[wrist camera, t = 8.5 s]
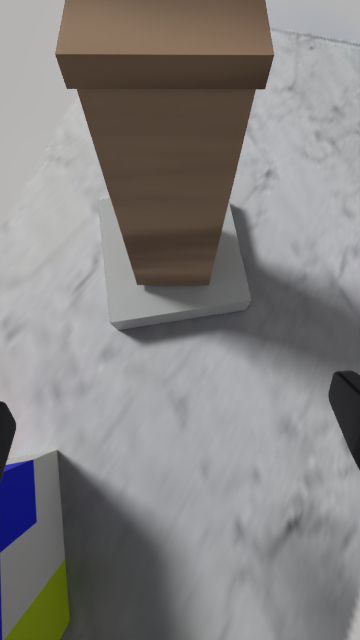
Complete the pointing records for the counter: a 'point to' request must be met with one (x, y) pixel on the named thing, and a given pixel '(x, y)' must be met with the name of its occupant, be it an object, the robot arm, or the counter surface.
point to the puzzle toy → (32, 550)
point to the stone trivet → (170, 300)
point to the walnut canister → (167, 117)
